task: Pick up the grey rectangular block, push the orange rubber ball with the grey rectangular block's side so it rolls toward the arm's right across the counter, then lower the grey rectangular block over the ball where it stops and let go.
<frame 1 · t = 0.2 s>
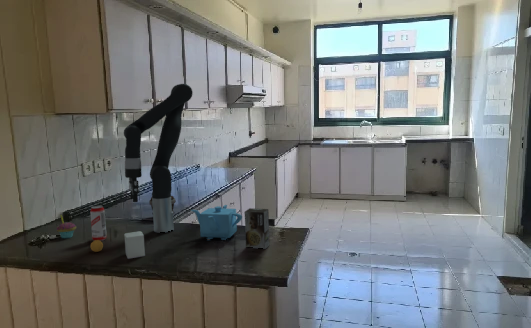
hand: (134, 200, 193), 17 cm above the counter, tool pointing down, fingers open, 8 cm apart
beer can: (99, 240, 189), on the counter
flowerpot: (163, 217, 230), on the counter
grey rectangular block: (135, 254, 166), on the counter
ball: (96, 245, 171), on the counter
coffee box: (257, 246, 173), on the counter
teakettle: (217, 237, 188), on the counter
cupcake: (67, 237, 195), on the counter
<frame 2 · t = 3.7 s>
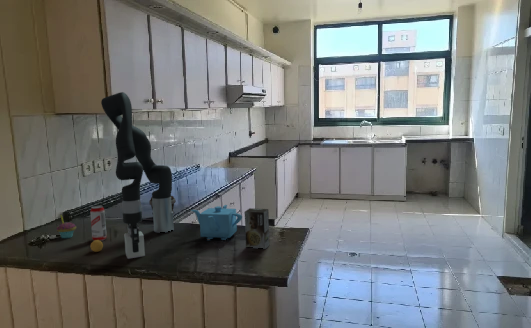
hand: (134, 249, 166), 2 cm above the counter, tool pointing down, fingers closed on grey rectangular block, 7 cm apart
grey rectangular block: (135, 254, 166), on the counter, touching gripper
everything else where it was.
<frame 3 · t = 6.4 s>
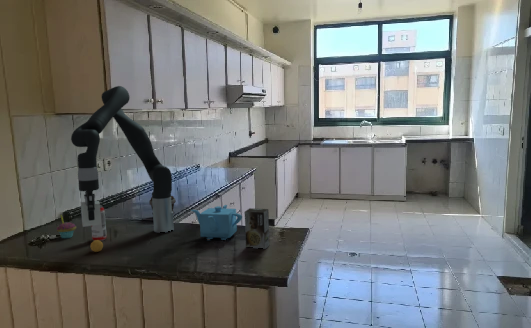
hand: (91, 218, 164), 16 cm above the counter, tool pointing down, fingers closed on grey rectangular block, 7 cm apart
grey rectangular block: (91, 223, 164), point 14 cm above the counter, touching gripper
everything else where it was.
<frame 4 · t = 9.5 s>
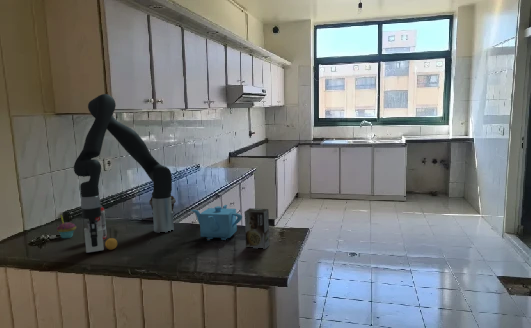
hand: (94, 243, 171), 4 cm above the counter, tool pointing down, fingers closed on grey rectangular block, 7 cm apart
grey rectangular block: (94, 249, 171), point 1 cm above the counter, touching gripper
ball: (111, 243, 174), on the counter
everything else where it was.
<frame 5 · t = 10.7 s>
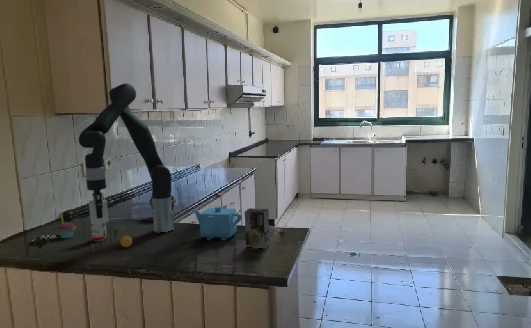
hand: (99, 216, 171), 15 cm above the counter, tool pointing down, fingers closed on grey rectangular block, 7 cm apart
grey rectangular block: (99, 221, 171), point 13 cm above the counter, touching gripper
ball: (126, 241, 176), on the counter
everything else where it was.
when the fingers open (3 cm above the counter, at t = 15.5 s): grey rectangular block stays where it is, on the counter.
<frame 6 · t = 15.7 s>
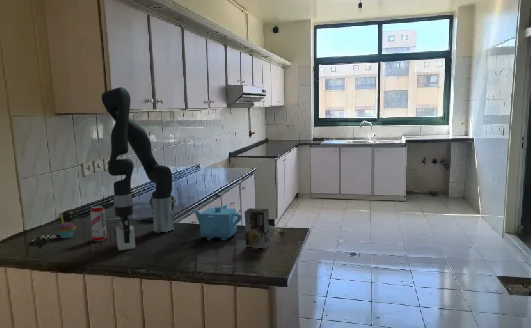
hand: (126, 240, 176), 3 cm above the counter, tool pointing down, fingers open, 8 cm apart
grey rectangular block: (126, 247, 177), on the counter
everything else where it was.
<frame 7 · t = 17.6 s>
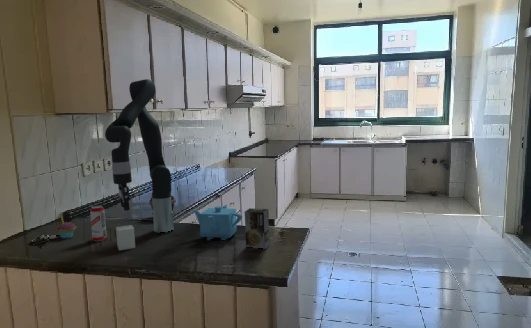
hand: (125, 208, 174), 17 cm above the counter, tool pointing down, fingers open, 8 cm apart
nothing on the counter moved.
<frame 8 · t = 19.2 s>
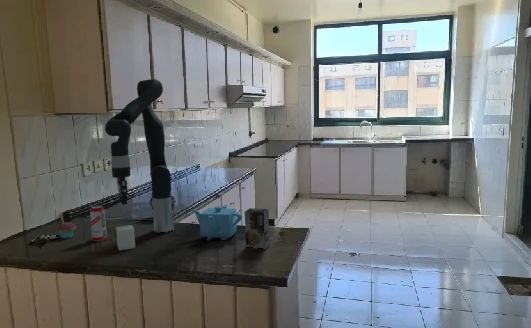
hand: (123, 202, 174), 20 cm above the counter, tool pointing down, fingers open, 8 cm apart
nothing on the counter moved.
at the end: ball 0.2 cm from the grey rectangular block (horizontally); grey rectangular block on the counter; ball moved 12.1 cm from its start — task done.
